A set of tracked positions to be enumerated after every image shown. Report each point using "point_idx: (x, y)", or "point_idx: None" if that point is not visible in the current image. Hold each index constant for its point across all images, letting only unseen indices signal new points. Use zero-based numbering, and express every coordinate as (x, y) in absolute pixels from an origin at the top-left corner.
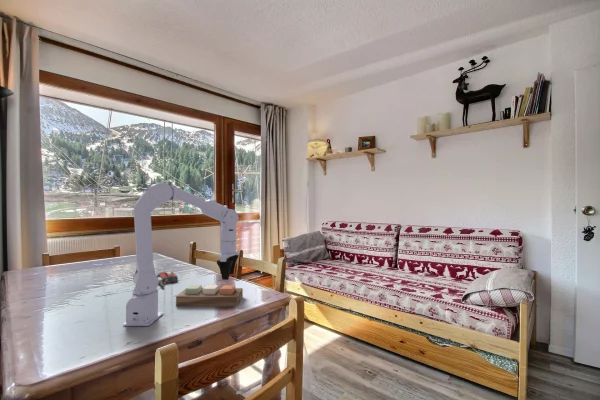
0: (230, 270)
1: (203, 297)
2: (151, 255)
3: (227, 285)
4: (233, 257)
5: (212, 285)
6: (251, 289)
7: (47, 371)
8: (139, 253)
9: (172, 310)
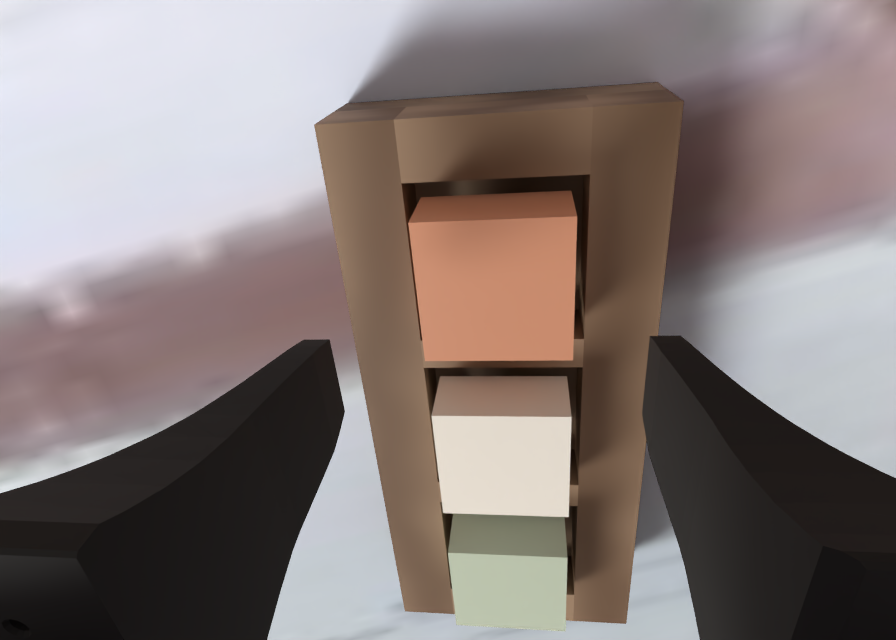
0: (317, 415)
1: (642, 448)
2: None
3: (433, 317)
4: (158, 603)
5: (453, 465)
6: (70, 65)
7: None
8: None
9: None
